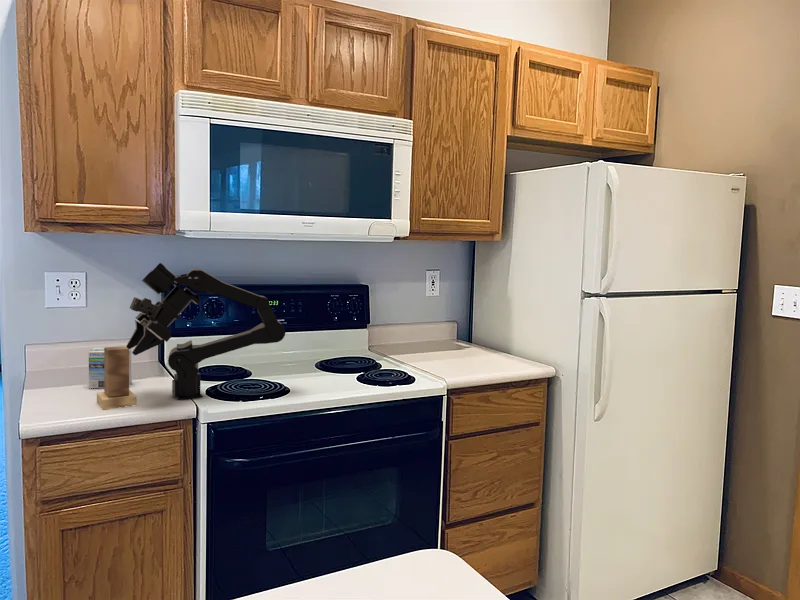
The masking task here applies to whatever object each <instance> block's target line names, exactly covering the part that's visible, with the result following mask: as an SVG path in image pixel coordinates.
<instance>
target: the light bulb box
mask: <svg viewBox="0 0 800 600" xmlns="http://www.w3.org/2000/svg"><path fill="white" fill-rule="evenodd" d="M104 348H105V347H93V348H91V349H90V350H89V351H88V389H89V390H93V388H94V390H95V388H99V389H104ZM132 373H133V372H132V348H131V349H129V385H130V386H131V384H132V383H131V382H133V381H132V377H133V376H132ZM91 388H92V389H91Z"/></svg>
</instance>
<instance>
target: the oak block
mask: <svg viewBox="0 0 800 600" xmlns="http://www.w3.org/2000/svg"><path fill="white" fill-rule="evenodd" d="M96 403H97V404H98V405H99V407H100V406H101V407H100V408H101V409H102V410H111V408H113V409H119V408H118V407H121V408H126V407H125V406H129V407H133V406H132V405H137V395H136V394H135V393H134V392H133V391H132V390H130V389H129V395H123V396H113V397H108V396H107V395H106V394H105V393H104V391H101V392H96Z"/></svg>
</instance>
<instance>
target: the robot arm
mask: <svg viewBox="0 0 800 600" xmlns="http://www.w3.org/2000/svg"><path fill="white" fill-rule="evenodd" d="M141 282H143V284H145V285H146V286H148V288H150V289H151V290H152V291H153V292H155V293H156V294H157V295H160V294H162V295H166V294H167V292H169V291H170V292H169V293H168V294H167V295H166V296H165V297H164V298H163V299H162V300H160V301H156V302H155V304H154V303H152V300H151V299H150V298H149V299H148V298H146V297H144V298H143V299H141V298H138V297H133V298H132V302H131V303H130V306H129V309H131V310H132V311H134V312H137V313H138V312H139V313H138V315H137V316H136V317H135V319H136V320H134V322H135V329H134V331H133V333H132V335H131V337H130V339H129V340H128V342H127V344H126V346H125V347H127V348H128V349H131V350H132V349H133V348H134V349H133V350H132V351H131V354H132V355H134V356H137V355H140V354H141V353H143V352H145V351H148V350H150V349H152V348H155V347H156V346H159V345H161V344H164V343H165V342H166V343H168V341H169V340H170V339H171V338H172V331H171V330H170V329H169V326H170V325H171V324H172V323H174V321H175V320H179V318H180V314H181V313H182V312H183V311H184V310H185V309H186V308H187V307H188V306H189V305H190V304H191V302H192V303H194V304H195V305H199V304H200V303H201V302H200V293H204V294H213V295H218V296H221V297H224V298H226V299H229V300H230V301H231V300H232V301H234V302H237V303H240V304H243V305H245V306H249V307H250V308H254V309H256V310H257V313H258V315H259V317H260V320H261V321H262V322H261V323H260V324H259V323H258V325H256V326H254V327H253V328H251V329H248V330H246V331H243V332H240V333H236V334H232V335H230V336H229V335H228V336H226V337H222V338H218V339H216V340H215V339H214V340H211V341H209V342H205V343H202V344H193V340H188V341H186V342H184V343H177V344H176V346H175V347H173V348H172V349H171V350H170V351H169V353H168V356H167V357H168V359H167V363H168V366H169V367H170V368H171V370H172V371H175V373H174V374H173V379H172V381H171V382H172V385H171V386H172V387H171V390H172V393H171V394H172V396H174V398H176V399H178V400H179V401H180V400H188V399H196V398H197V399H198V398H203V394H202V392H201V373H200V372H199V363H201V362H202V361H204V360H206V359H210V358H213V357H215V356H220V355H222V354H226V353H230V352H232V351H236V350H239V349H242V348H246V347H249V346H253V345H264V344H265V345H266V344H272V343H273V344H274V343H275V344H276V343H279V342H280V341H282V340H283V339H284V338H285V336H286V328H285V326H284V325H283V324H282V323H281V321H279V320H278V319H277V317H276V315H275V313H274V311H273V309H272V306H271V304H270V301H269V298H267V297H266V296H264V295H260V294H256V293H253V292H251V291H248V290H246V289H243V288H240V287H238V286H235V285H232V284H230V283H227V282H225V281H222V280H220V279H218V278H217V277H215V276H214V275H212V274H210V273H209V272H207V271H205V270H203V269H202V268H197V267H196V268H193V269H191V270H189V271H188V272H187V273H184V274H178V275H175V274H174V273H173V272H172V271H170V270H169V269H168V268H167V267H166V266H165V264H163V263H162V262H159V263H158V264H157V265H156V266H155V267H154V268H153V269H151V270H150V271H149V272H148V273H147V275H145V276H144V278H143V279H142V280H141ZM173 286H174V288H172V287H173ZM181 286H186V287H185V288H182V287H181ZM187 287H188V288H187ZM191 290H192V291H191ZM193 291H195V292H200V293H197V294H196V293H194V292H193ZM164 341H165V342H164Z"/></svg>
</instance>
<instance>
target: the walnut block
mask: <svg viewBox="0 0 800 600" xmlns="http://www.w3.org/2000/svg"><path fill="white" fill-rule="evenodd" d="M103 348H104V388H103V389H104V391H103V392H104V393H105V394H106V395H107V396H108V397H113V396H123V395H129V390H130V386H129V349H128V348H127V347H126V346H108V347H105V346H104V347H103Z"/></svg>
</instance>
